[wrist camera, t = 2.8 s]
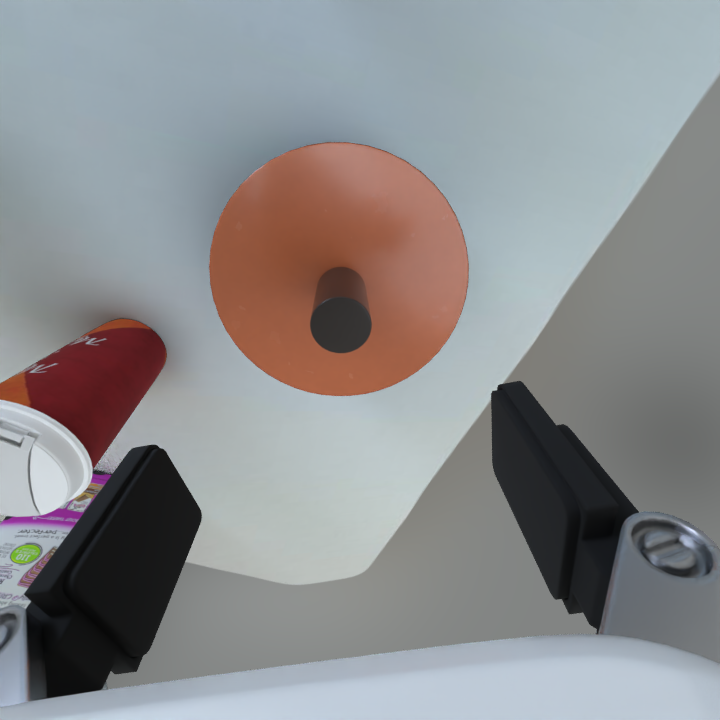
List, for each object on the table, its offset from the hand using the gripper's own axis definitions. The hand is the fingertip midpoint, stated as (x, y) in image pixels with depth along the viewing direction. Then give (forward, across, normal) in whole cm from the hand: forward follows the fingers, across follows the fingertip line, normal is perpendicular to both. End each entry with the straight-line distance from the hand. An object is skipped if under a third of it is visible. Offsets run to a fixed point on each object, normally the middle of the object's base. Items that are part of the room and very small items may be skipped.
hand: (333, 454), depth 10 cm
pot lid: (+13, 0, -1) cm, 13 cm away
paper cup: (+20, +19, +3) cm, 28 cm away
